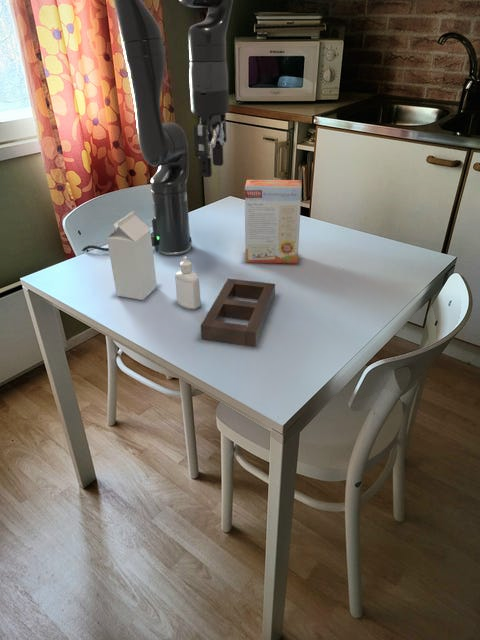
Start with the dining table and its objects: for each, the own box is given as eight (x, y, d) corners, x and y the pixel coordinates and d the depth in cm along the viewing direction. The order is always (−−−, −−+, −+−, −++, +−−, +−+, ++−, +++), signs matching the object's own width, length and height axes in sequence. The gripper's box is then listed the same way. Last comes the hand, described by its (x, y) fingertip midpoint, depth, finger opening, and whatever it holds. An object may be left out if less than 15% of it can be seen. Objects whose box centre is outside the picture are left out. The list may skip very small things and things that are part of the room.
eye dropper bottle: (184, 312, 107) (180, 264, 101) (175, 301, 112) (171, 254, 105) (202, 308, 109) (199, 260, 103) (193, 297, 113) (189, 250, 107)
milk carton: (157, 287, 118) (148, 212, 107) (143, 301, 112) (132, 223, 102) (131, 282, 120) (120, 209, 109) (116, 296, 114) (103, 220, 104)
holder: (201, 339, 99) (200, 325, 97) (228, 291, 116) (227, 278, 114) (255, 347, 96) (255, 332, 94) (274, 296, 113) (275, 283, 111)
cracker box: (297, 255, 132) (302, 179, 121) (297, 264, 127) (302, 186, 116) (246, 253, 133) (246, 177, 122) (244, 263, 128) (244, 185, 117)
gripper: (202, 81, 100) (205, 161, 109) (178, 91, 88) (184, 179, 97) (237, 82, 98) (238, 162, 107) (217, 92, 87) (220, 181, 96)
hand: (212, 170), depth 102 cm, fingers open, 8 cm apart
